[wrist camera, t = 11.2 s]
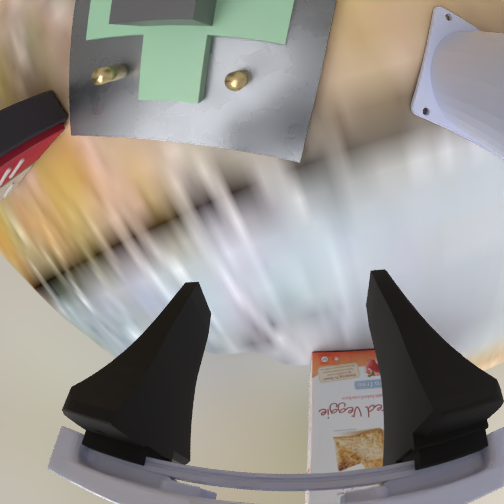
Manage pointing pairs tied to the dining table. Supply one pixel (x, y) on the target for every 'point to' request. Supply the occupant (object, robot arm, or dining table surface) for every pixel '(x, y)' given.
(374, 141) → the dining table surface
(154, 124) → the chassis plate
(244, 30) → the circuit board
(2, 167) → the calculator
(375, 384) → the cracker box
